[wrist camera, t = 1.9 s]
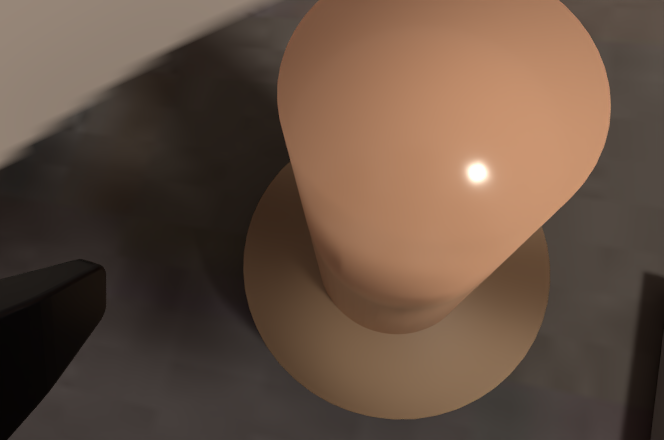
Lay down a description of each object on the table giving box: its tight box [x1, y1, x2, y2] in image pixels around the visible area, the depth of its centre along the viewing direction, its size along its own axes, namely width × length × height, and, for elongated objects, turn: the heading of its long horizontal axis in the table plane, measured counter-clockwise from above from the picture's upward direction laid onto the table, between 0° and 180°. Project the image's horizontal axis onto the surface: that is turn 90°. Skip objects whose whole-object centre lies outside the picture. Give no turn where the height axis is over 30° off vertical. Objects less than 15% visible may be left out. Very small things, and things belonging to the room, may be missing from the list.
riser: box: [243, 161, 550, 419], centre depth 19 cm, size 10×10×3 cm
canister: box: [277, 0, 611, 334], centre depth 13 cm, size 5×5×10 cm
